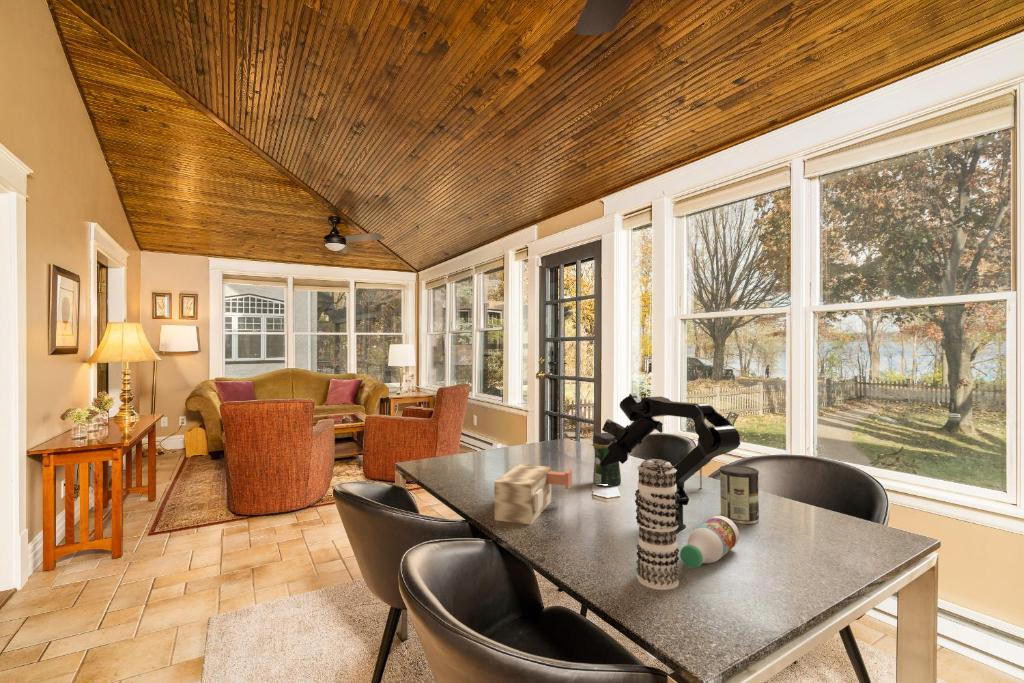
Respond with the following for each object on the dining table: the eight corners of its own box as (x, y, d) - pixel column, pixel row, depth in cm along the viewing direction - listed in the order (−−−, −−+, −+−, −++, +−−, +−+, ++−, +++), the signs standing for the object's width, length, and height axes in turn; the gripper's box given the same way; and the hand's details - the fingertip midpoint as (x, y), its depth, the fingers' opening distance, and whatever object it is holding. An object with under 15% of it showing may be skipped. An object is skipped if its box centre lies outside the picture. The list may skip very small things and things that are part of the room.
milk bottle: (732, 553, 116) (699, 584, 102) (703, 533, 121) (667, 559, 107) (745, 528, 114) (713, 555, 100) (715, 508, 119) (680, 531, 104)
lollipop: (685, 486, 169) (685, 444, 169) (702, 484, 171) (702, 443, 171) (699, 492, 162) (698, 448, 162) (716, 490, 164) (716, 447, 165)
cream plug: (542, 505, 138) (542, 489, 138) (538, 511, 133) (538, 493, 133) (504, 501, 142) (503, 485, 142) (498, 506, 137) (498, 489, 137)
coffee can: (748, 511, 143) (747, 464, 143) (766, 524, 133) (766, 473, 133) (713, 511, 143) (713, 464, 143) (729, 524, 132) (729, 473, 133)
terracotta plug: (571, 484, 150) (571, 469, 150) (568, 489, 146) (568, 473, 146) (535, 481, 154) (535, 466, 154) (531, 485, 150) (530, 470, 150)
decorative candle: (687, 579, 101) (686, 461, 101) (669, 595, 94) (668, 469, 94) (647, 566, 107) (646, 454, 107) (627, 581, 100) (626, 462, 101)
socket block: (551, 501, 153) (551, 466, 153) (531, 524, 133) (531, 485, 133) (518, 497, 157) (518, 464, 157) (494, 520, 136) (494, 481, 136)
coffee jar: (612, 479, 178) (611, 430, 178) (624, 485, 171) (623, 433, 171) (589, 482, 175) (589, 431, 175) (601, 488, 167) (600, 435, 168)
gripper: (621, 407, 152) (587, 439, 155) (615, 415, 134) (576, 451, 137) (647, 433, 149) (611, 465, 152) (644, 445, 131) (603, 481, 135)
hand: (600, 465), depth 144 cm, fingers closed
